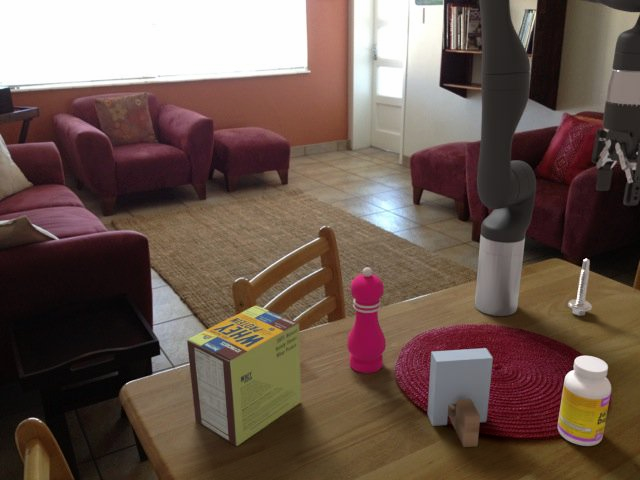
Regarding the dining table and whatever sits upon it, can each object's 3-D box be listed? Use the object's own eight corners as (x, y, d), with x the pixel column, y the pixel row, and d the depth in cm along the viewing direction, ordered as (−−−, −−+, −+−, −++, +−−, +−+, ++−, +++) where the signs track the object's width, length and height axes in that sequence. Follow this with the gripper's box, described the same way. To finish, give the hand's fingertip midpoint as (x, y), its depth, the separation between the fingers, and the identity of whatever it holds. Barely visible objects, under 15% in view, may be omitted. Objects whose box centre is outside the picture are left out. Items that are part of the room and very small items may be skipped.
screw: (567, 316, 133) (566, 306, 137) (591, 319, 131) (589, 309, 136) (575, 261, 128) (574, 253, 133) (600, 264, 127) (598, 255, 131)
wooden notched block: (433, 384, 109) (435, 357, 107) (445, 383, 110) (447, 356, 108) (463, 447, 93) (466, 417, 92) (477, 446, 94) (480, 416, 92)
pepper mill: (390, 359, 117) (393, 263, 110) (377, 378, 111) (379, 278, 104) (355, 351, 120) (356, 257, 113) (341, 369, 114) (341, 271, 107)
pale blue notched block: (432, 425, 98) (436, 361, 94) (427, 414, 101) (431, 351, 97) (486, 421, 99) (492, 357, 95) (480, 410, 102) (486, 348, 98)
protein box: (302, 401, 105) (300, 321, 100) (236, 448, 94) (229, 361, 89) (260, 380, 111) (255, 303, 106) (193, 421, 100) (184, 338, 95)
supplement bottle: (598, 453, 92) (611, 380, 87) (552, 438, 95) (563, 367, 91) (605, 429, 97) (618, 359, 93) (562, 415, 100) (572, 347, 96)
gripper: (586, 94, 103) (573, 187, 109) (635, 106, 90) (618, 211, 95) (628, 93, 104) (613, 185, 109) (683, 104, 90) (663, 209, 96)
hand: (615, 197), depth 102 cm, fingers open, 8 cm apart
